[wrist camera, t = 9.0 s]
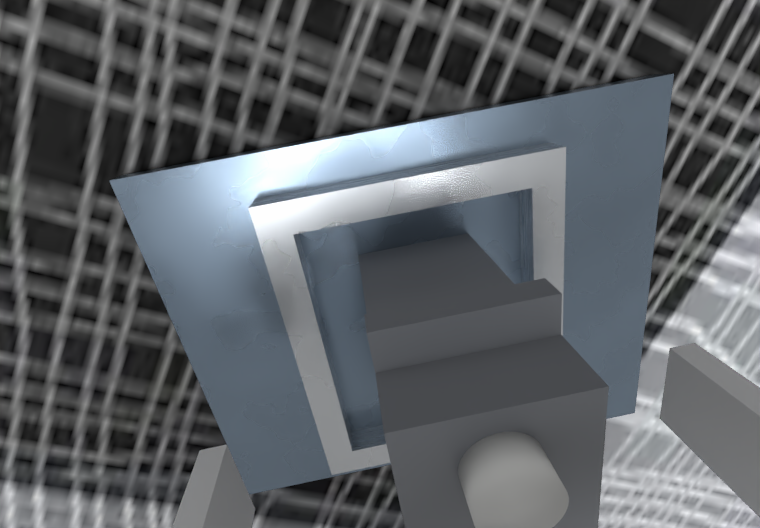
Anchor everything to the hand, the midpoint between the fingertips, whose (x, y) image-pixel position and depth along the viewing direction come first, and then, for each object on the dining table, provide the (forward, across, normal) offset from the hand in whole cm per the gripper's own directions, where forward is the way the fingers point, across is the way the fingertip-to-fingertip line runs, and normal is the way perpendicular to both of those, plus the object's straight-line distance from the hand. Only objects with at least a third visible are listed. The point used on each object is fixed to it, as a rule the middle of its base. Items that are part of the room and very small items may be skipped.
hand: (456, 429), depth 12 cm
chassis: (+7, 0, 0) cm, 7 cm away
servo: (+6, 0, 0) cm, 6 cm away
